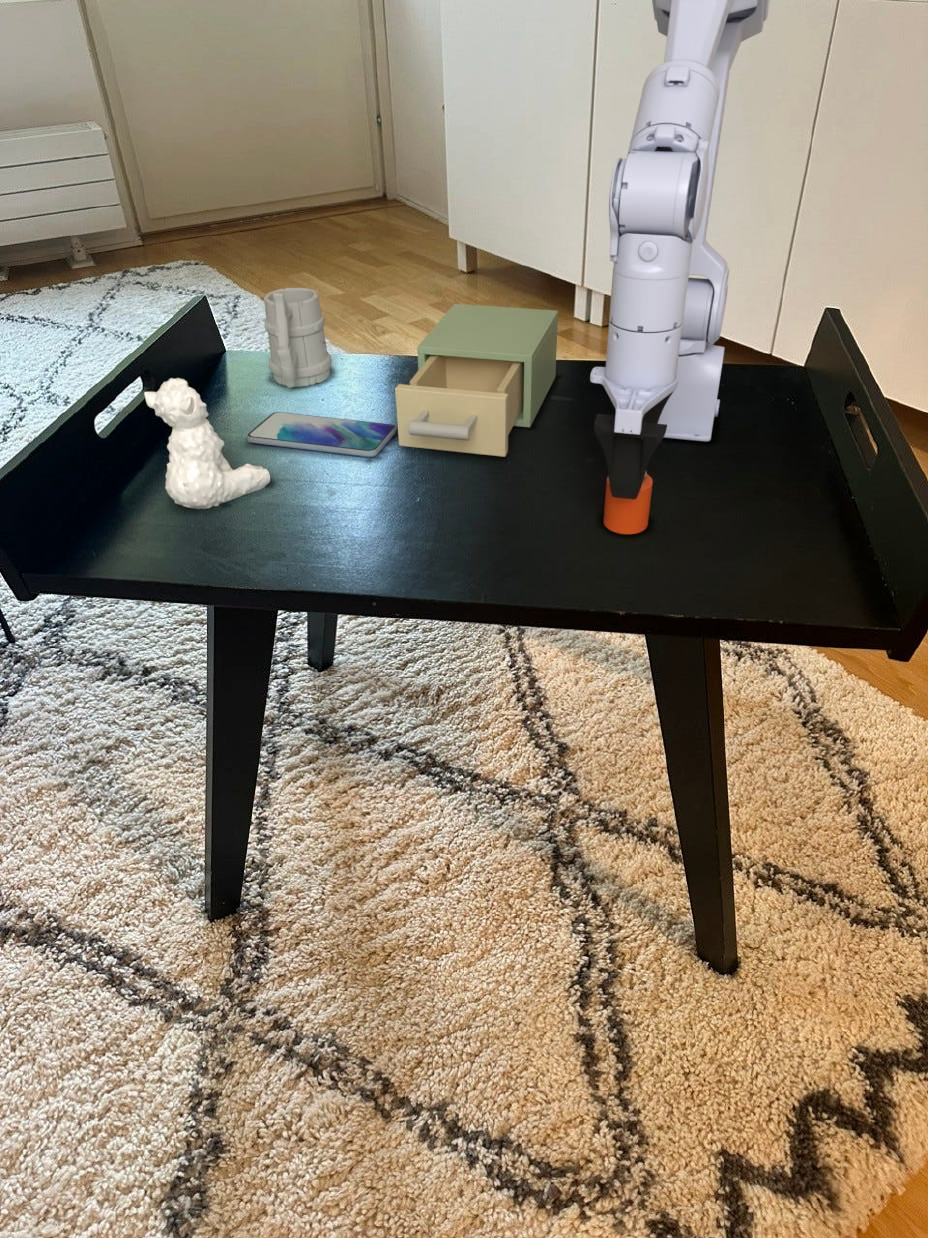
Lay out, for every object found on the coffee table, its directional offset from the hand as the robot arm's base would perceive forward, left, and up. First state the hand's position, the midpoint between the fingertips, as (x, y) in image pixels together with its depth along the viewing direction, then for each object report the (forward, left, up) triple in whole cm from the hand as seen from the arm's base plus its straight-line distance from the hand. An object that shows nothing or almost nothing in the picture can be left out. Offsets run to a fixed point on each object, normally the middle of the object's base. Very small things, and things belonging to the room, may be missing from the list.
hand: (630, 475), depth 78 cm
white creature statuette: (+40, +4, -5) cm, 41 cm away
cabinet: (+19, -25, -5) cm, 32 cm away
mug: (+43, -24, -5) cm, 50 cm away
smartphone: (+34, -10, -5) cm, 36 cm away
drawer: (+19, -13, -4) cm, 23 cm away
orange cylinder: (0, 0, -5) cm, 5 cm away
